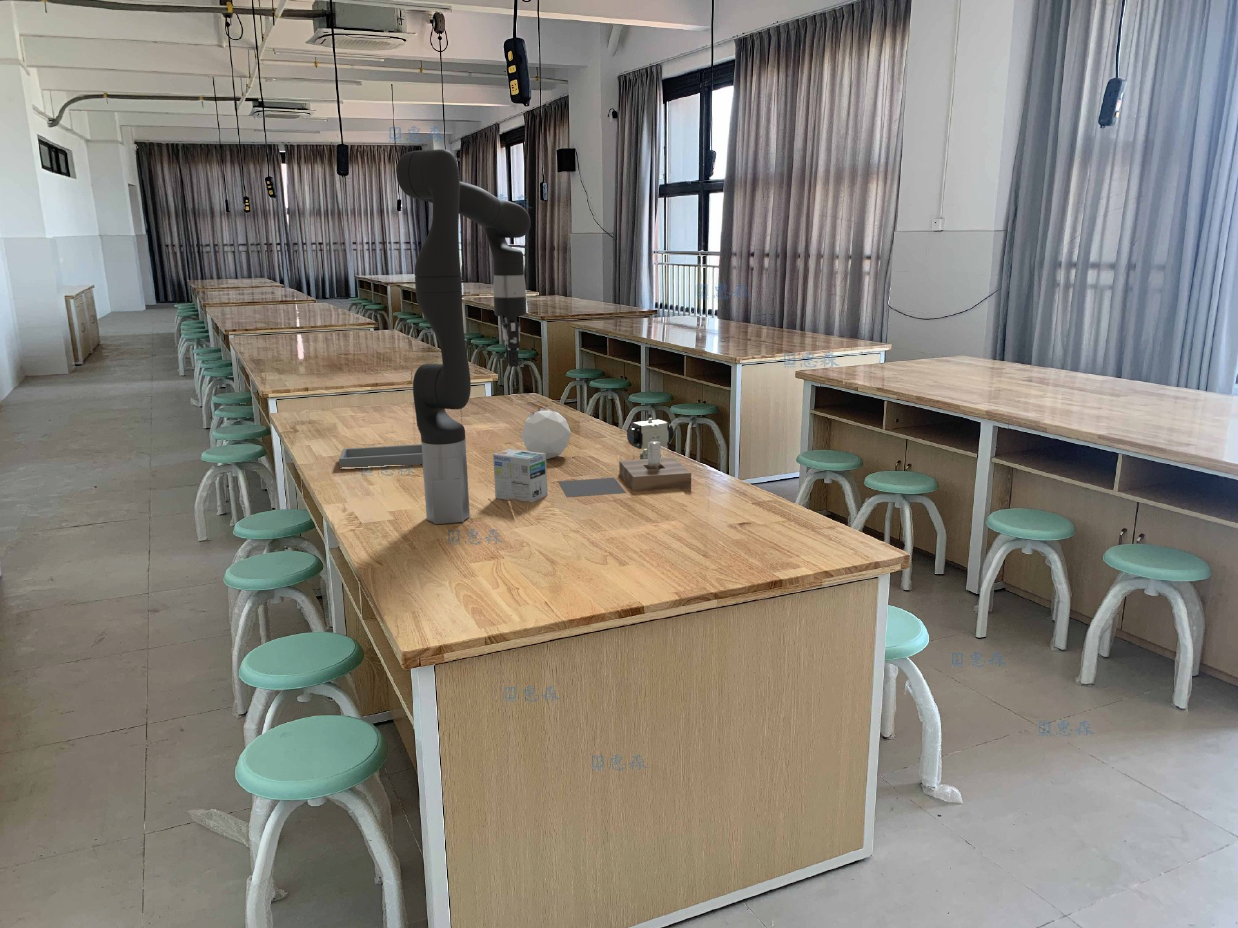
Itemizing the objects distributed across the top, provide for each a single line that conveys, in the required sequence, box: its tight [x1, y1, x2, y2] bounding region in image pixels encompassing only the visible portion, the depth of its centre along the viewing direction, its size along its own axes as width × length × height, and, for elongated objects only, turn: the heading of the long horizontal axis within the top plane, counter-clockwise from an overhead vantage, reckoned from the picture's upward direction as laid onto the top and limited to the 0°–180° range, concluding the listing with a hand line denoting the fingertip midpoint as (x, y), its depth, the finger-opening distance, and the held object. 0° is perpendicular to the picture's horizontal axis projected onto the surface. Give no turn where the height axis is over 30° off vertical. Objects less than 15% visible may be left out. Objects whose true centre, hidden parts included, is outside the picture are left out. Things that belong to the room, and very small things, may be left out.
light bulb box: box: [493, 448, 549, 503], centre depth 207 cm, size 11×7×11 cm, turn 59°
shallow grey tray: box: [338, 443, 423, 469], centre depth 244 cm, size 12×23×3 cm, turn 102°
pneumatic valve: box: [626, 417, 675, 459], centre depth 237 cm, size 6×12×12 cm, turn 116°
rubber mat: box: [557, 477, 627, 498], centre depth 215 cm, size 14×14×1 cm
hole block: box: [618, 456, 692, 492], centre depth 220 cm, size 16×14×4 cm
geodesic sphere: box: [520, 407, 572, 460], centre depth 245 cm, size 14×14×14 cm
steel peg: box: [648, 441, 661, 470], centre depth 219 cm, size 3×3×10 cm
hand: (512, 364), depth 214 cm, fingers open, 8 cm apart
